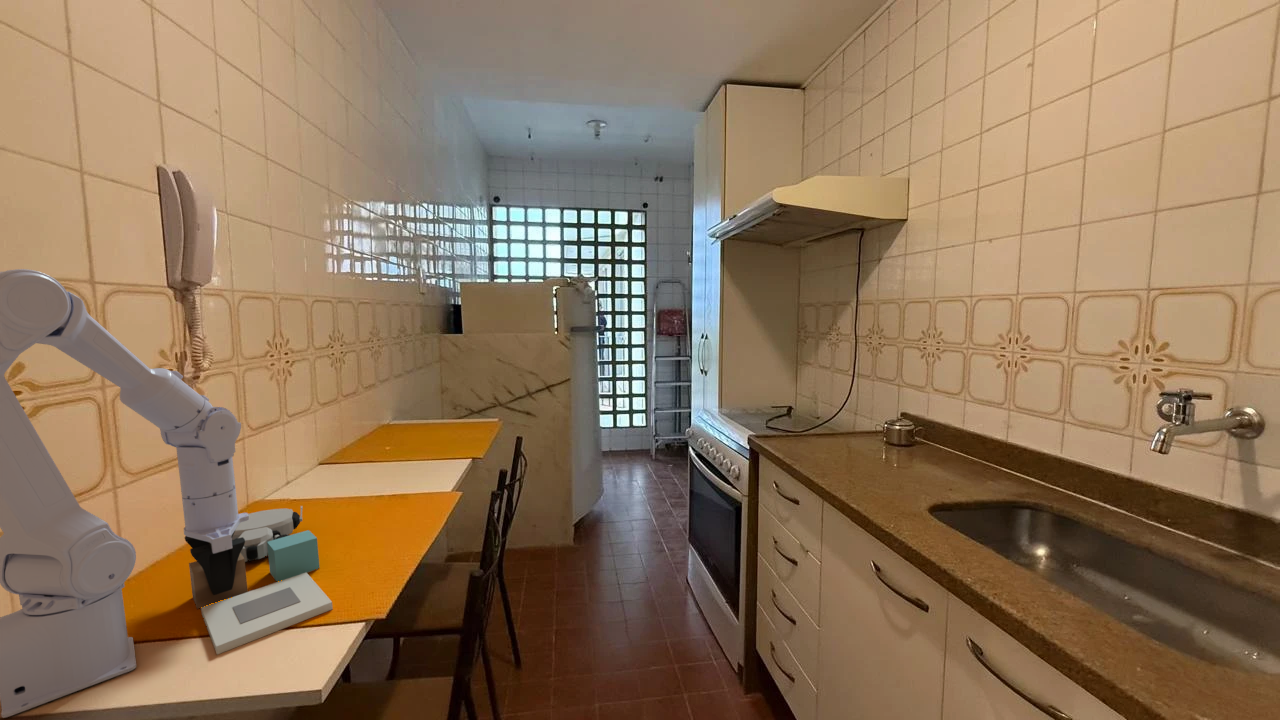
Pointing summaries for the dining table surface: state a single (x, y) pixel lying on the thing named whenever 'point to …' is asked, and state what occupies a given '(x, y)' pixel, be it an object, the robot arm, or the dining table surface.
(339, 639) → the dining table surface
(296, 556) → the teal brick
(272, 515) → the robot toy
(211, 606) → the build plate
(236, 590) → the walnut brick
